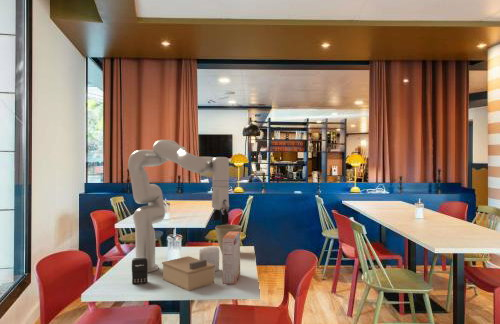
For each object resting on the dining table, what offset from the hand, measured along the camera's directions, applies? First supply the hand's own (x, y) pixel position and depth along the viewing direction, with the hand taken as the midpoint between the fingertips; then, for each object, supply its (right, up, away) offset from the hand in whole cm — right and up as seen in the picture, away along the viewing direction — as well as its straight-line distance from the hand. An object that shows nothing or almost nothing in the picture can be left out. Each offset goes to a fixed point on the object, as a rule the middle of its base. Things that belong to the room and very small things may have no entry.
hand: (220, 221), depth 167 cm
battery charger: (-36, -27, -3) cm, 45 cm away
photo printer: (-7, -27, +14) cm, 31 cm away
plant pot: (+1, -27, +47) cm, 54 cm away
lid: (-15, -20, -1) cm, 25 cm away
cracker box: (+5, -27, +2) cm, 28 cm away
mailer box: (-15, -27, -1) cm, 31 cm away
